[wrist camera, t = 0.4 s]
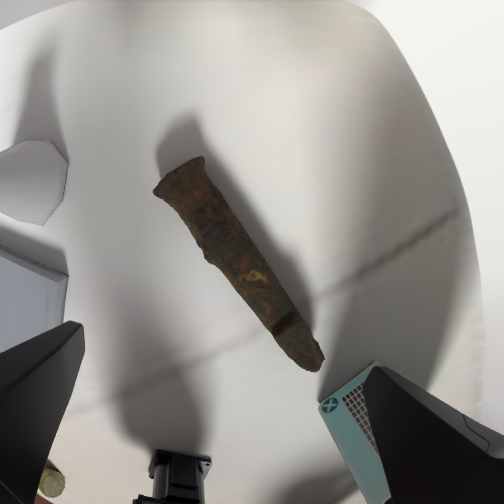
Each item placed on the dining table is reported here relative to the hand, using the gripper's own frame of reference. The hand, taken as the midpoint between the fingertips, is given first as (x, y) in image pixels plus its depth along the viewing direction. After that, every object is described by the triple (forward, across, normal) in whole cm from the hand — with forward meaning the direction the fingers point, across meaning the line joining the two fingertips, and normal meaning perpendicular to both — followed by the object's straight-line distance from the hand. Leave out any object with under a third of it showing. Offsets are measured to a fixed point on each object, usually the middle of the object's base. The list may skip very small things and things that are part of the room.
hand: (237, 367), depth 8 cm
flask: (+15, +17, -1) cm, 23 cm away
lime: (+10, +18, +39) cm, 44 cm away
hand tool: (+15, -3, +3) cm, 16 cm away
